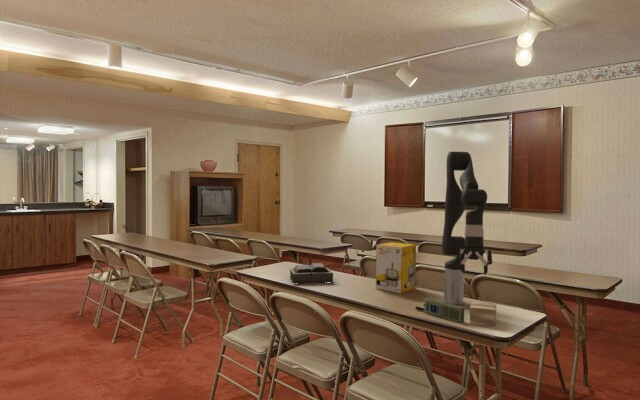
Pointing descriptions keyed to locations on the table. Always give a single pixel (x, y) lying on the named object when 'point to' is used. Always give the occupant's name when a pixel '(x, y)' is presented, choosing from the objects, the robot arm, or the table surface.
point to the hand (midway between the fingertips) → (474, 273)
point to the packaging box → (395, 267)
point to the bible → (311, 274)
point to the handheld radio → (443, 310)
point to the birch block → (483, 313)
